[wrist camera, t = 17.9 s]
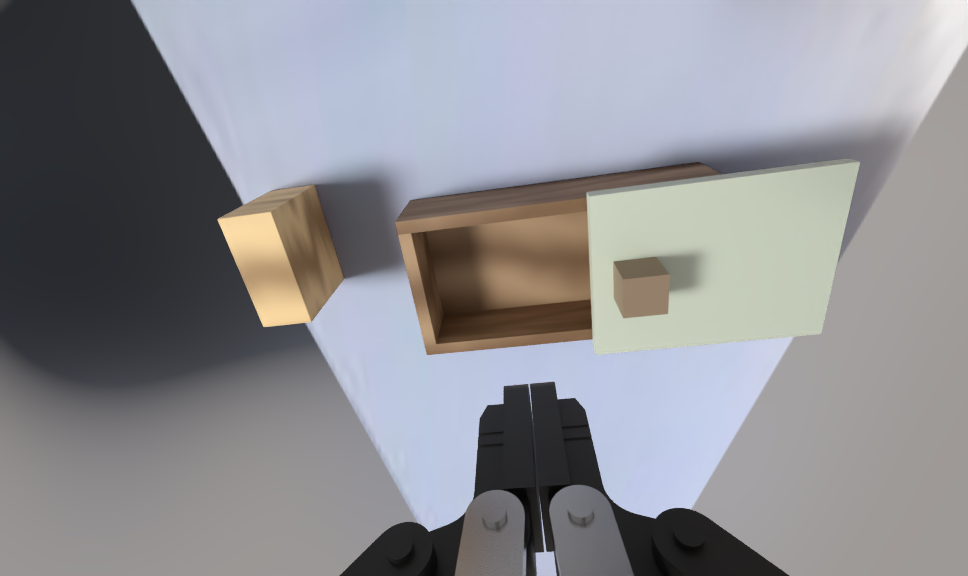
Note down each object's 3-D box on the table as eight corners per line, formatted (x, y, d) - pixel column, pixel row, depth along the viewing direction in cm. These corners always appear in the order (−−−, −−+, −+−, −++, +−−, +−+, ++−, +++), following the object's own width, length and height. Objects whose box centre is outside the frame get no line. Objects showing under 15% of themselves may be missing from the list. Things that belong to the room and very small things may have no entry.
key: (270, 190, 38) (217, 219, 31) (314, 184, 38) (270, 211, 31) (304, 283, 42) (263, 327, 35) (344, 278, 42) (311, 321, 35)
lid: (586, 192, 31) (597, 209, 27) (847, 158, 29) (898, 171, 25) (592, 346, 37) (603, 378, 33) (811, 325, 35) (848, 357, 31)
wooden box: (410, 200, 38) (394, 222, 33) (698, 162, 36) (732, 179, 30) (436, 319, 43) (427, 354, 38) (689, 293, 41) (717, 327, 36)
